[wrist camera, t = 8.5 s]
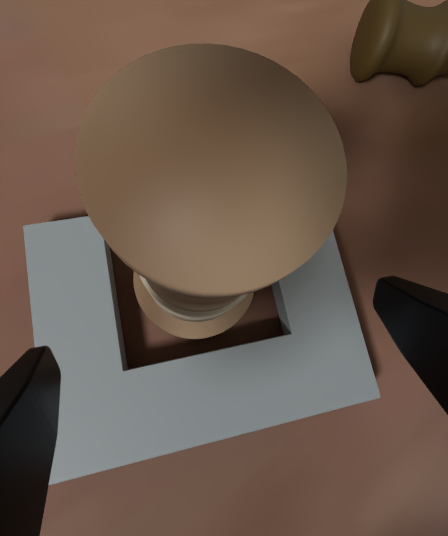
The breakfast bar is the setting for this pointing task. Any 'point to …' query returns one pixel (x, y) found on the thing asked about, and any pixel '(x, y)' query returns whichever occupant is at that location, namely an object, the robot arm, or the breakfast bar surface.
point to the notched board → (183, 358)
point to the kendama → (401, 41)
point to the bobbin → (208, 179)
